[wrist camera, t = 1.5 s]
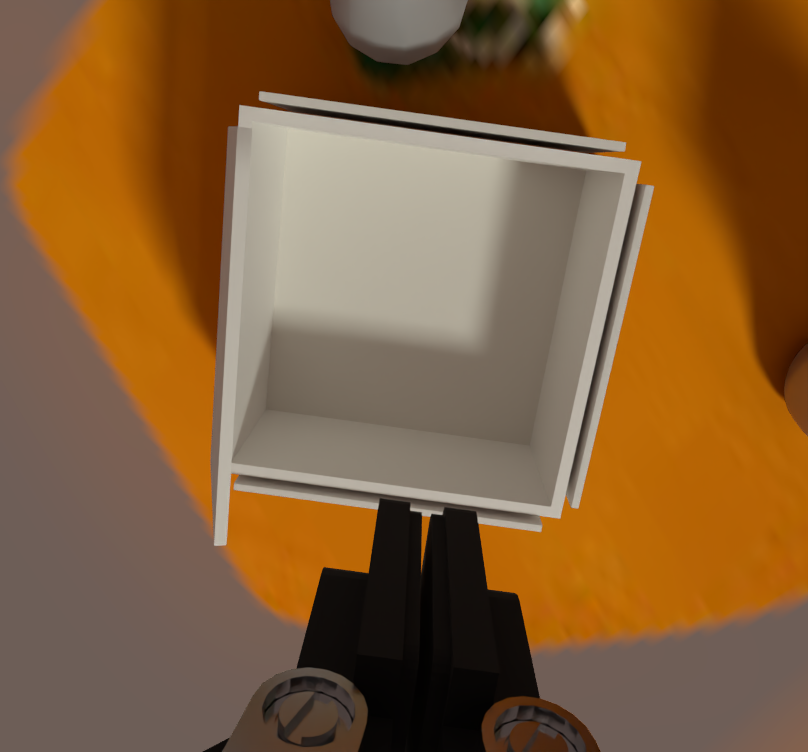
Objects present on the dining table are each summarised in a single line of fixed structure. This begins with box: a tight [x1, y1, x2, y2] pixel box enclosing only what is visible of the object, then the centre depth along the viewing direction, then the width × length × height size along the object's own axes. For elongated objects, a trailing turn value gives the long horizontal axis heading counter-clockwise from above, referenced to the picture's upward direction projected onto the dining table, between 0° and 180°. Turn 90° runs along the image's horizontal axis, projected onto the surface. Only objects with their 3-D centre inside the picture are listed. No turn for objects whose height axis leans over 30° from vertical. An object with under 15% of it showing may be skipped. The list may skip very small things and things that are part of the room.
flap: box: [211, 126, 252, 546], centre depth 24 cm, size 13×6×1 cm
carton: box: [231, 91, 654, 532], centre depth 31 cm, size 16×16×7 cm
